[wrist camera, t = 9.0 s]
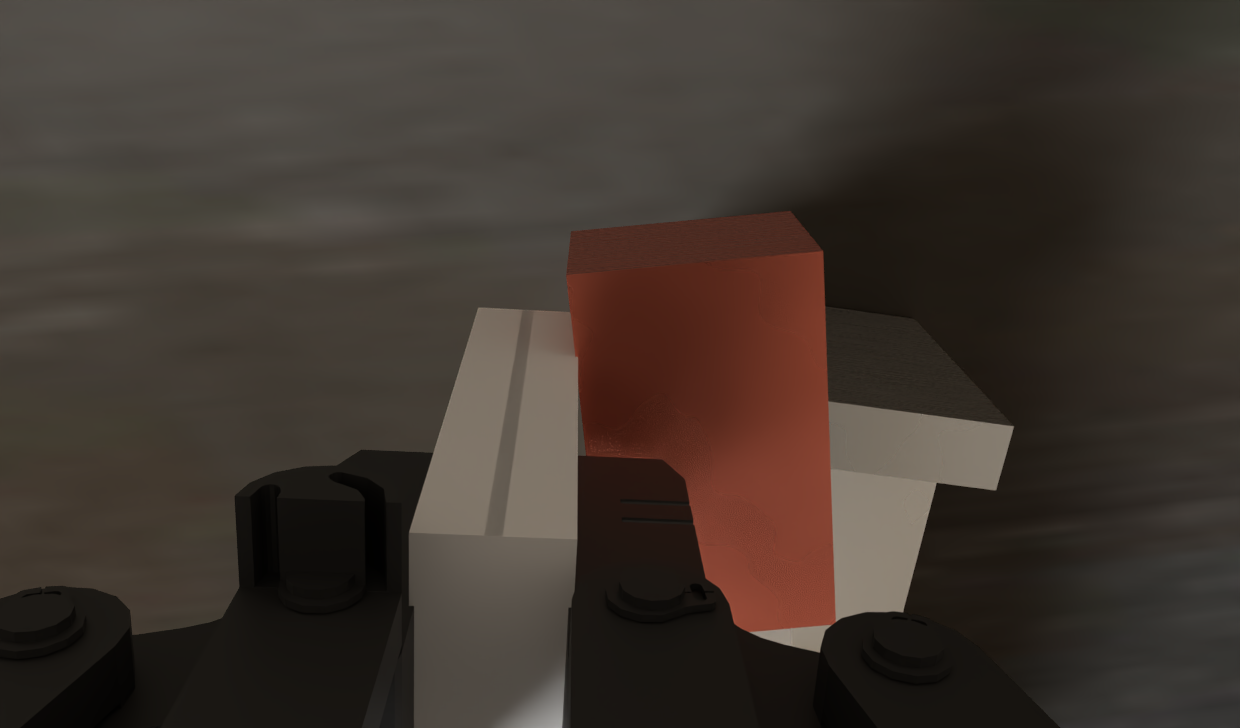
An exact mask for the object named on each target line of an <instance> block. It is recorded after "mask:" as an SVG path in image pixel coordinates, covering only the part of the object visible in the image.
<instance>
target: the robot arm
mask: <svg viewBox="0 0 1240 728" xmlns="http://www.w3.org/2000/svg"><path fill="white" fill-rule="evenodd" d="M689 504H690V501H689V496H688V492H687V487H686V482H685V479H684V478H683V477H682V476H681V475H680V474H678V473H677V472H676V471H675V470H674V469H673V468H672V467H671V466H670V465H668V464H667V463H666V462H665V461H664V460H663V459H642V458H618V457H595V456H578V357H575V349H574V340H573V331H572V322H571V313H570V312H556V311H536V310H517V309H497V308H478V311H477V314H476V317H475V320H474V324H473V327H472V330H471V333H470V337H469V340H468V343H467V346H466V350H465V353H464V356H463V359H462V362H461V366H460V369H459V372H458V375H457V379H456V382H455V385H454V388H453V392H452V395H451V398H450V401H449V405H448V408H447V411H446V414H445V417H444V421H443V424H442V427H441V430H440V434H439V437H438V440H437V443H436V447H435V450H434V453H424V452H400V451H376V450H360V451H359V452H357V453H356V454H354V455H353V456H351V457H349V458H348V459H346V460H345V461H343V462H342V463H340V464H339V465H337V466H312V467H301V468H296V469H290V470H285V471H280V472H275V473H272V474H270V475H268V476H265V477H263V478H260V479H258V480H255V481H253V482H251V483H249V484H248V485H247V486H246V487H244V488H243V489H242V490H241V491H240V492H239V493H238V494H236V495H235V512H236V530H237V549H238V567H239V585H240V587H239V589H238V591H237V593H236V595H235V596H234V598H233V600H232V602H231V603H230V605H229V607H228V609H227V610H226V612H225V614H224V616H223V618H221V619H219V620H216V621H213V622H210V623H205V624H201V625H196V626H191V627H186V628H180V629H173V630H166V631H160V632H153V633H146V634H139V635H132V628H131V617H130V610H129V609H128V608H127V607H126V606H125V605H124V604H123V603H122V602H121V601H120V600H119V599H118V598H117V597H116V596H113V595H110V594H107V593H104V592H101V591H98V590H95V589H89V588H72V587H66V586H50V587H46V588H45V589H41V587H40V588H34V589H28V590H23V591H20V592H18V593H17V594H14V595H11V596H8V597H4V598H1V599H0V728H1060V727H1059V726H1058V725H1057V724H1056V723H1055V722H1054V721H1053V720H1052V719H1051V718H1050V717H1049V716H1048V715H1047V714H1046V713H1045V712H1044V711H1043V710H1042V709H1041V708H1040V707H1039V706H1038V705H1037V704H1036V703H1035V702H1034V701H1033V700H1032V699H1031V698H1030V697H1029V696H1028V695H1027V694H1026V693H1025V692H1024V691H1023V690H1022V689H1021V688H1020V687H1019V686H1018V685H1017V684H1016V683H1015V682H1014V681H1013V680H1012V679H1011V678H1010V677H1009V676H1008V675H1007V674H1005V673H1004V672H1003V671H1002V670H1001V669H1000V668H999V667H998V666H997V665H996V664H995V663H994V662H993V661H992V660H991V659H990V658H989V657H988V656H987V655H986V654H985V653H984V652H983V651H982V650H981V649H980V648H979V647H978V646H976V645H975V644H974V643H972V642H971V641H970V640H968V639H967V638H965V637H964V636H963V635H961V634H960V633H959V632H957V631H955V630H953V629H950V628H948V627H946V626H943V625H941V624H939V623H936V622H934V621H932V620H930V619H928V618H926V617H922V616H918V615H915V614H912V615H908V613H904V612H896V611H890V612H864V613H860V614H856V615H852V616H848V617H844V618H841V619H839V620H838V621H837V622H835V623H834V624H833V625H831V626H830V627H829V628H827V629H826V630H825V633H824V637H823V640H822V644H821V648H820V652H815V651H811V650H806V649H802V648H797V647H793V646H788V645H784V644H781V643H777V642H774V641H771V640H767V639H764V638H761V637H759V636H756V635H754V634H752V633H750V632H748V631H746V630H743V629H741V628H740V627H738V626H737V625H735V624H734V621H733V617H732V613H731V609H730V604H729V602H728V601H727V599H726V598H725V596H724V594H723V593H722V591H721V589H720V588H719V587H717V586H716V585H714V584H713V583H712V582H710V581H709V580H707V579H706V578H705V573H704V568H703V563H702V559H701V554H700V549H699V544H698V539H697V535H696V530H695V525H693V515H692V511H691V506H689Z"/></svg>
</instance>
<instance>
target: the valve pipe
mask: <svg viewBox="0 0 1240 728" xmlns="http://www.w3.org/2000/svg"><path fill="white" fill-rule="evenodd" d="M825 319H826V348H827V378H828V407H829V436H830V466H831V495H832V524H833V554H834V583H835V612H836V622H837V621H838V620H839V619H841V618H844V617H848V616H852V615H856V614H860V613H864V612H890V611H896V612H903V610H904V606H905V603H906V599H907V595H908V591H909V587H910V583H911V580H912V576H913V572H914V568H915V564H916V560H917V557H918V553H919V549H920V545H921V541H922V537H923V534H924V530H925V526H926V522H927V518H928V514H929V511H930V507H931V503H932V499H933V495H934V491H935V488H936V484H937V483H942V484H950V485H958V486H965V487H973V488H981V489H988V490H996V489H997V485H998V482H999V478H1000V475H1001V471H1002V468H1003V464H1004V460H1005V457H1006V453H1007V450H1008V446H1009V443H1010V439H1011V435H1012V432H1013V428H1014V426H1013V425H1012V424H1011V423H1010V422H1009V421H1008V419H1007V418H1006V417H1005V416H1004V415H1003V414H1002V413H1001V412H1000V411H999V410H998V409H997V408H996V406H995V405H994V404H993V403H992V402H991V401H990V400H989V399H988V398H987V397H986V396H985V395H984V394H983V392H982V391H981V390H980V389H979V388H978V387H977V386H976V385H975V384H974V383H973V382H972V381H971V379H970V378H969V377H968V376H967V375H966V374H965V373H964V372H963V371H962V370H961V369H960V368H959V367H958V365H957V364H956V363H955V362H954V361H953V360H952V359H951V358H950V357H949V356H948V355H947V354H946V352H945V351H944V350H943V349H942V348H941V347H940V346H939V345H938V344H937V343H936V342H935V341H934V339H933V338H932V337H931V336H930V335H929V334H928V333H927V332H926V331H925V330H924V329H923V328H922V327H921V325H920V324H919V323H918V322H917V321H916V320H915V319H913V318H906V317H899V316H892V315H885V314H877V313H870V312H863V311H856V310H849V309H842V308H835V307H828V306H825ZM830 626H831V625H824V626H813V627H801V628H792V646H793V647H797V648H802V649H806V650H811V651H815V652H820V648H821V644H822V640H823V637H824V633H825V630H826V629H827V628H829V627H830Z"/></svg>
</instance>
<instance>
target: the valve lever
mask: <svg viewBox="0 0 1240 728" xmlns="http://www.w3.org/2000/svg"><path fill="white" fill-rule="evenodd" d="M566 276H567V286H568V295H569V304H570V313H571V322H572V331H573V340H574V349H575V357H578V386H579V395H580V404H581V413H582V422H583V431H584V440H585V449H586V456H595V457H618V458H642V459H663V460H664V461H665V462H666V463H667V464H668V465H670V466H671V467H672V468H673V469H674V470H675V471H676V472H677V473H678V474H680V475H681V476H682V477H683V478H684V479H685V482H686V487H687V492H688V496H689V501H690V504H689V506H691V511H692V515H693V525H695V530H696V535H697V539H698V544H699V549H700V554H701V559H702V563H703V568H704V573H705V578H706V579H707V580H709V581H710V582H712V583H713V584H714V585H716V586H717V587H719V588H720V589H721V591H722V593H723V594H724V596H725V598H726V599H727V601H728V602H729V604H730V609H731V613H732V617H733V621H734V624H735V625H737V626H738V627H740V628H741V629H743V630H746V631H748V632H750V633H752V634H754V635H756V636H759V637H761V638H764V639H767V640H771V641H774V642H777V643H781V644H784V645H788V646H792V628H801V627H813V626H824V625H833V624H834V623H835V622H836V612H835V583H834V554H833V524H832V495H831V466H830V436H829V407H828V378H827V348H826V319H825V290H824V260H823V250H822V249H821V248H820V247H819V245H818V244H817V243H816V242H815V240H814V239H813V238H812V237H811V236H810V234H809V233H808V232H807V231H806V230H805V228H804V227H803V226H802V225H801V223H800V222H799V221H798V220H797V219H796V217H795V216H794V215H793V214H792V212H791V211H784V212H774V213H763V214H752V215H742V216H731V217H720V218H710V219H699V220H688V221H678V222H667V223H656V224H646V225H635V226H624V227H614V228H603V229H592V230H582V231H571V238H570V247H569V256H568V265H567V274H566Z"/></svg>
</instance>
